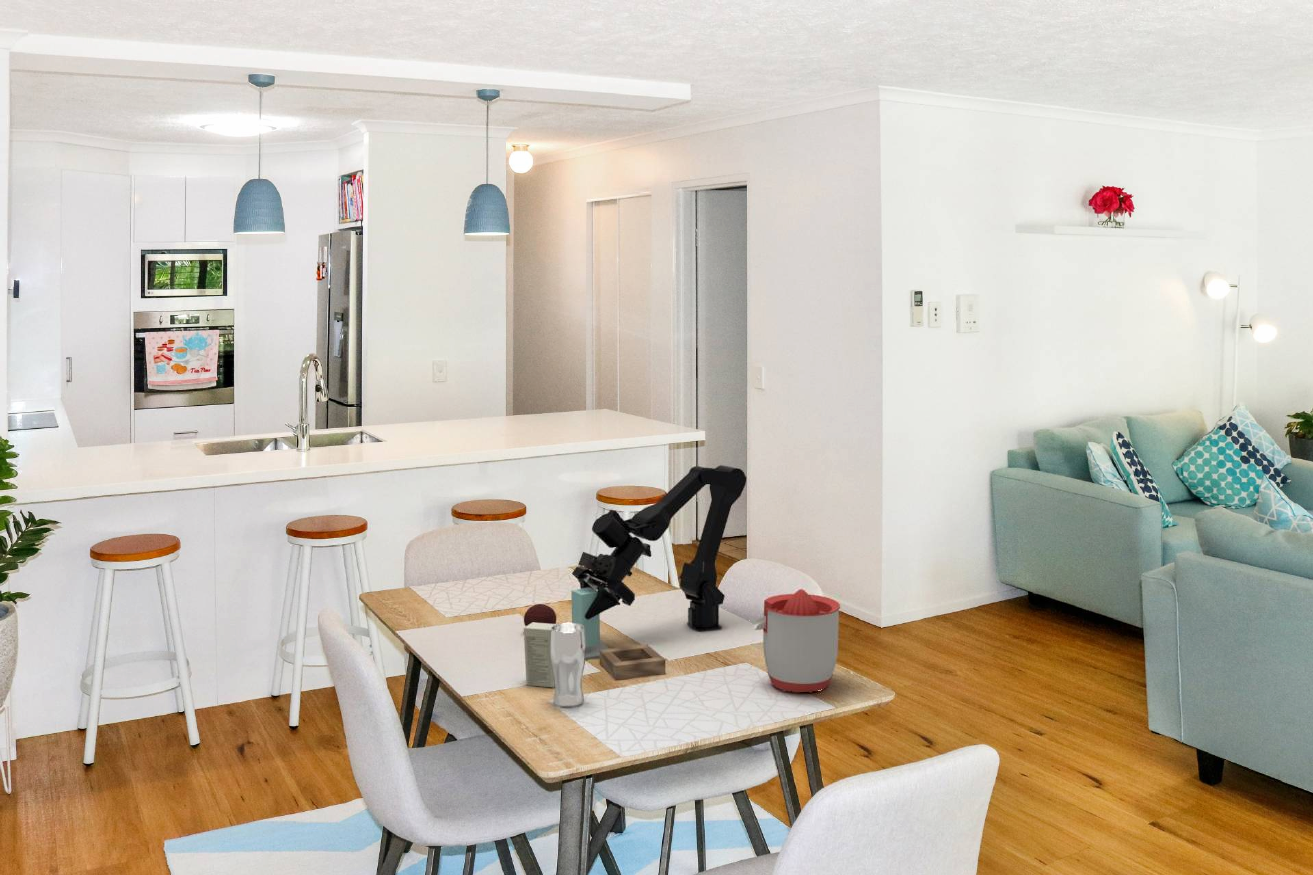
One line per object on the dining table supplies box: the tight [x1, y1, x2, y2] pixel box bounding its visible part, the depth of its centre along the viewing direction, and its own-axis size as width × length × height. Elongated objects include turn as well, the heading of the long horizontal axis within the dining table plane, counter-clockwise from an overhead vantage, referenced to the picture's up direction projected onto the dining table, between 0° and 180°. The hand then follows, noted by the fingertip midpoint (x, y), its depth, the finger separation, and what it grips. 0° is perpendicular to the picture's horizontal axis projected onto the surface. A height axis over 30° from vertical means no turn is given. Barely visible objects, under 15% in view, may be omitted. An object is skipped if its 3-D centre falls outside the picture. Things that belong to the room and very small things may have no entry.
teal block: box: [570, 587, 601, 647], centre depth 245 cm, size 4×4×12 cm
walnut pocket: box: [599, 644, 666, 681], centre depth 235 cm, size 11×11×3 cm
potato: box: [523, 603, 557, 627], centre depth 260 cm, size 7×8×7 cm
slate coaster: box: [585, 639, 610, 661], centre depth 246 cm, size 10×10×1 cm
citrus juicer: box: [753, 588, 841, 693], centre depth 224 cm, size 16×17×20 cm
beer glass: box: [550, 622, 586, 708], centre depth 215 cm, size 7×7×15 cm
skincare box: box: [523, 622, 557, 688], centre depth 226 cm, size 6×4×12 cm
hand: (580, 615), depth 244 cm, fingers closed on teal block, 4 cm apart
